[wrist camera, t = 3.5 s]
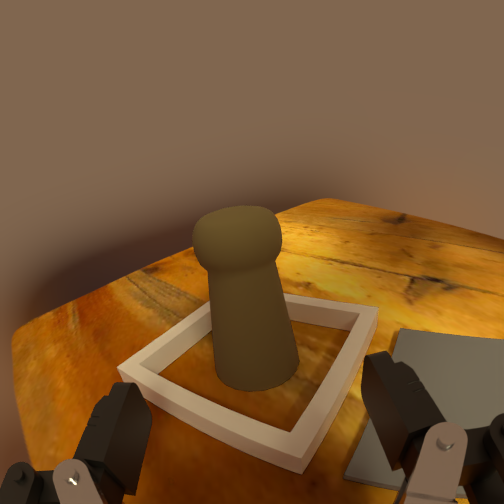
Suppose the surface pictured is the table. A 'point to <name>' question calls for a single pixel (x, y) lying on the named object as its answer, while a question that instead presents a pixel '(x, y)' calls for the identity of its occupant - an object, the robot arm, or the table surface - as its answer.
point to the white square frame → (242, 427)
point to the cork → (246, 297)
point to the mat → (439, 393)
